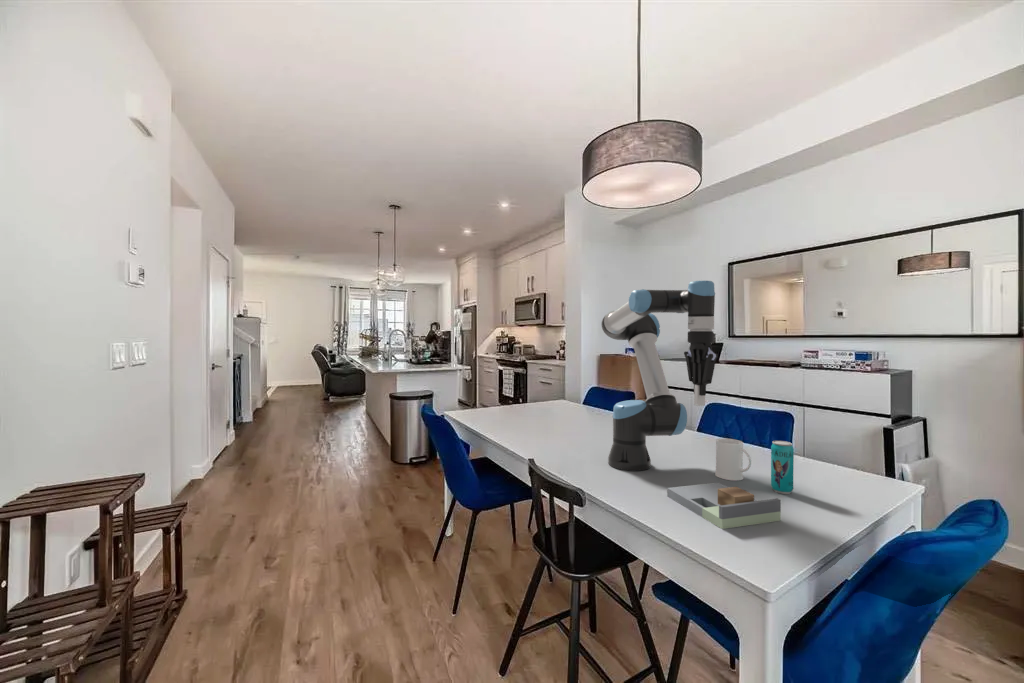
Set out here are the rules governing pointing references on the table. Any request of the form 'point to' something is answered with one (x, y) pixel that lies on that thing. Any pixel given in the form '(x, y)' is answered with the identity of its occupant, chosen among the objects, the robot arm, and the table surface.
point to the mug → (730, 459)
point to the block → (733, 496)
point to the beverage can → (782, 467)
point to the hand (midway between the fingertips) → (699, 405)
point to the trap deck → (725, 506)
